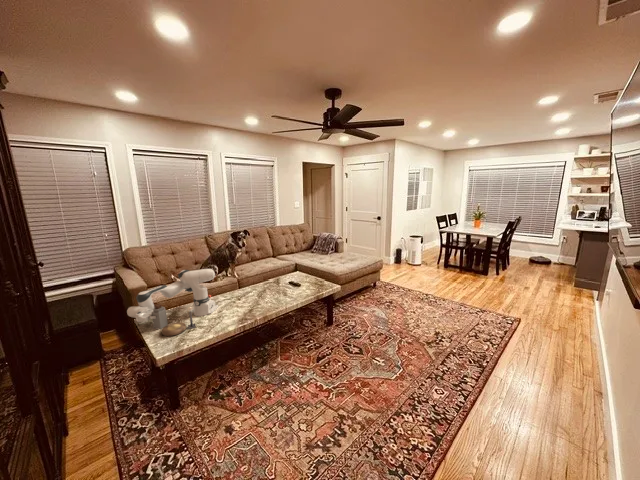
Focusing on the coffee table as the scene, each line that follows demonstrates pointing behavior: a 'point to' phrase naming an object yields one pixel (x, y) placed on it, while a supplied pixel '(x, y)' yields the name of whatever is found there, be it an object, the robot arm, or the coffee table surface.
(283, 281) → the coffee table surface
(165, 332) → the turntable
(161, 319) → the perfume bottle
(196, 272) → the robot arm
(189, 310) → the dial indicator
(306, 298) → the coffee table surface
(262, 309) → the coffee table surface
